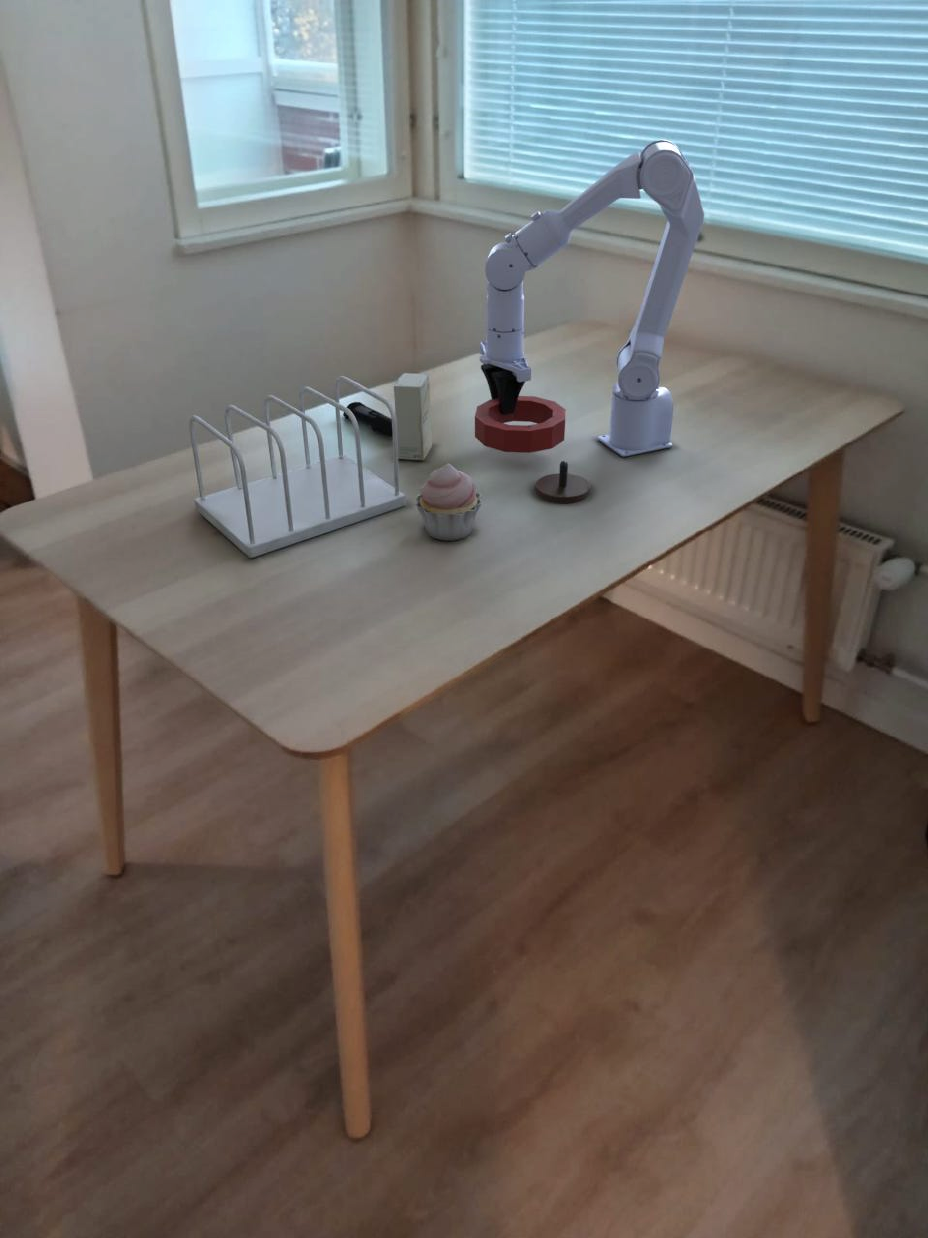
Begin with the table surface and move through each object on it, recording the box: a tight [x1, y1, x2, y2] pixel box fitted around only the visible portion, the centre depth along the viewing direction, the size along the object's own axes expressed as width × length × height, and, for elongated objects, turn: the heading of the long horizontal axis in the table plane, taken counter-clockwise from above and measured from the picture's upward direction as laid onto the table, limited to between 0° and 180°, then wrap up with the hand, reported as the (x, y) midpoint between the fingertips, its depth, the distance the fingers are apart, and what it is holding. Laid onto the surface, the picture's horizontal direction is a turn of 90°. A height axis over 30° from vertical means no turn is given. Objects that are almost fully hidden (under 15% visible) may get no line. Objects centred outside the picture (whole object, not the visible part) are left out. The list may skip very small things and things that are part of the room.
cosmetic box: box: [393, 372, 433, 461], centre depth 150 cm, size 6×4×12 cm
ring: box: [474, 395, 567, 454], centre depth 149 cm, size 14×14×4 cm
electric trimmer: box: [342, 401, 393, 438], centre depth 160 cm, size 4×16×3 cm, turn 42°
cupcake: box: [414, 462, 483, 542], centre depth 129 cm, size 9×9×10 cm
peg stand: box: [535, 460, 591, 504], centre depth 140 cm, size 8×8×5 cm
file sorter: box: [188, 375, 407, 559], centre depth 133 cm, size 25×17×16 cm
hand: (503, 410), depth 154 cm, fingers closed on ring, 2 cm apart
